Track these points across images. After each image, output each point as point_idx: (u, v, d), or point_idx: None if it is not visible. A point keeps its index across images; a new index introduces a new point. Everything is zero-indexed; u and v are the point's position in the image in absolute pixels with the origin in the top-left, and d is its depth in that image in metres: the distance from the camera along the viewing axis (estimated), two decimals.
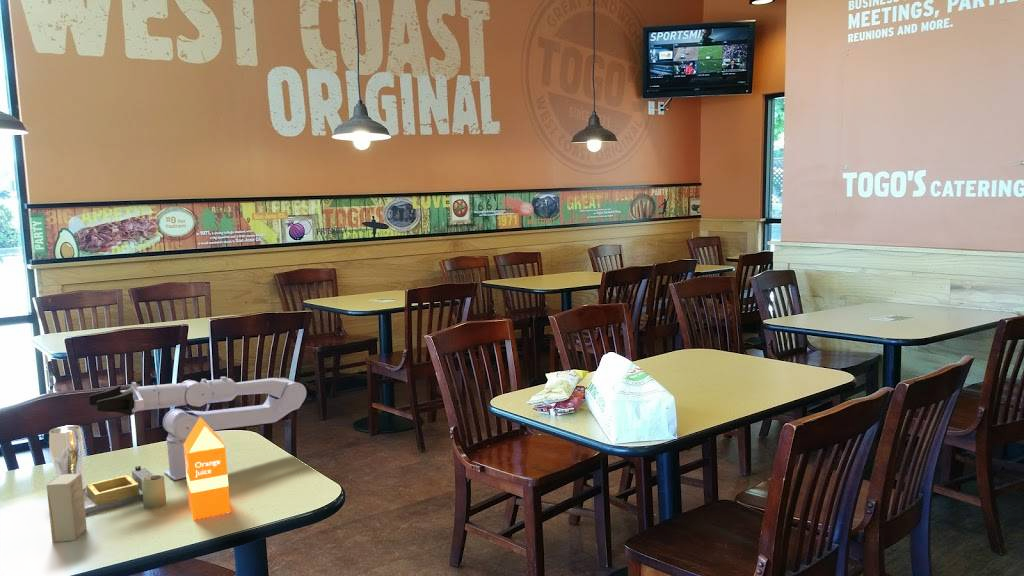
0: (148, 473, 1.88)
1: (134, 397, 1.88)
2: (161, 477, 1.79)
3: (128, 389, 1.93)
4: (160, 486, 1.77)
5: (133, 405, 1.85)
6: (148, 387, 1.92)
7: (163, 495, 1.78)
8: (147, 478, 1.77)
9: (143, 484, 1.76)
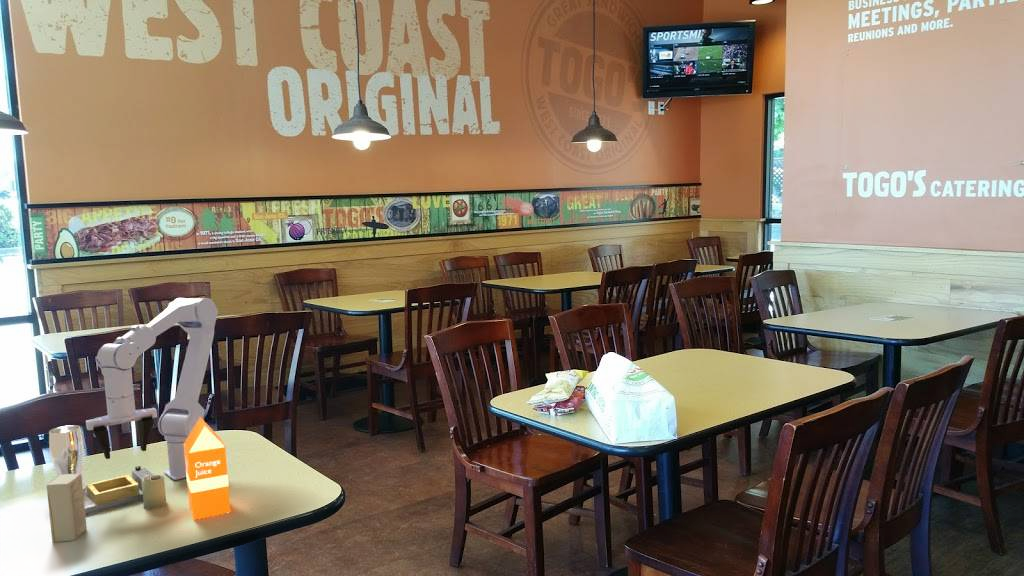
0: (148, 473, 1.88)
1: (137, 417, 1.83)
2: (161, 477, 1.79)
3: (109, 422, 1.78)
4: (160, 486, 1.77)
5: None
6: (128, 404, 1.80)
7: (163, 495, 1.78)
8: (147, 478, 1.77)
9: (143, 484, 1.76)
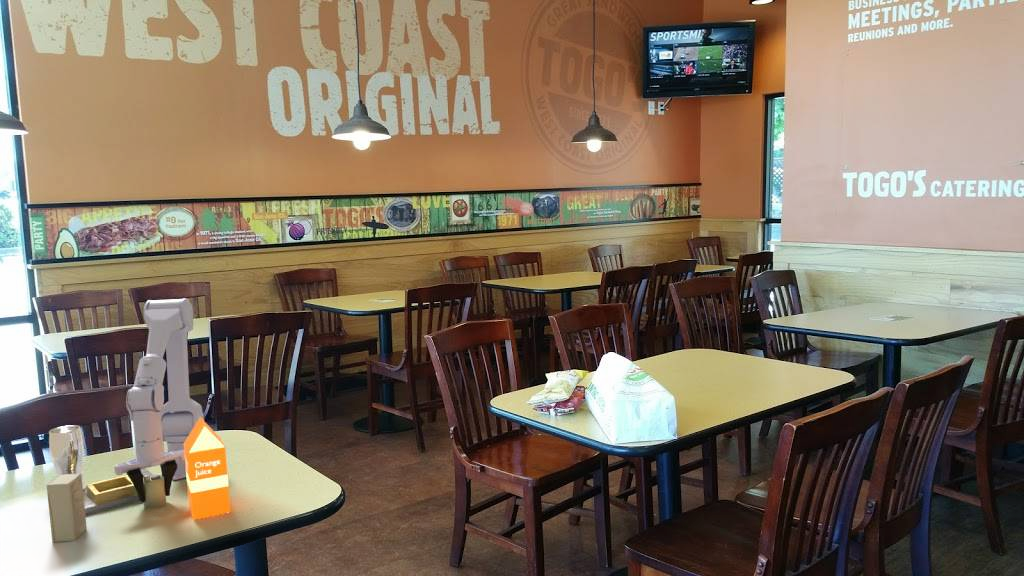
0: (148, 473, 1.88)
1: None
2: (161, 477, 1.79)
3: (138, 466, 1.74)
4: (160, 486, 1.77)
5: None
6: (157, 448, 1.76)
7: (163, 495, 1.78)
8: (147, 478, 1.77)
9: (143, 484, 1.76)
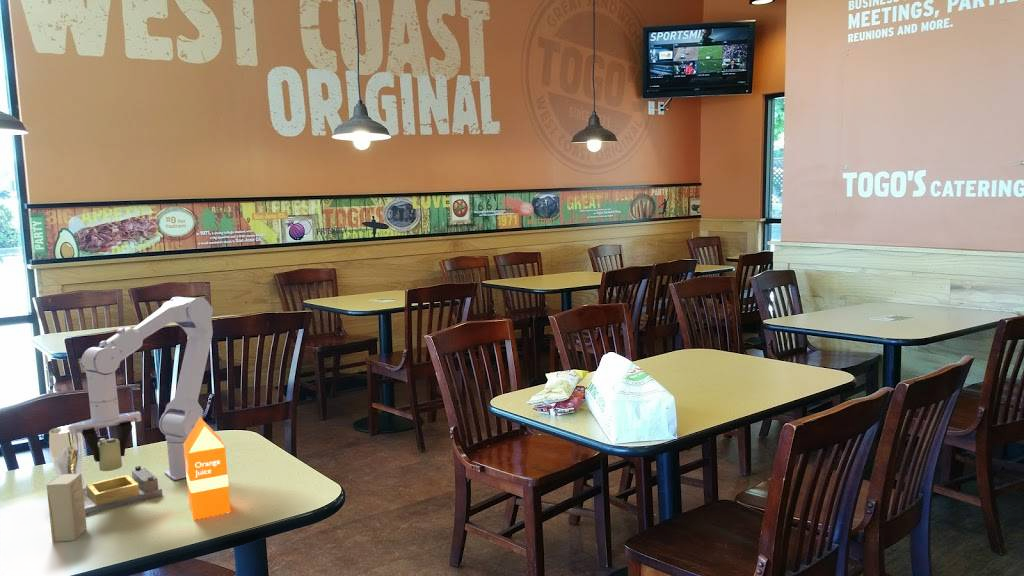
0: (148, 473, 1.88)
1: (121, 421, 1.83)
2: (116, 440, 1.83)
3: (92, 426, 1.78)
4: (116, 448, 1.81)
5: None
6: (111, 408, 1.80)
7: (119, 458, 1.82)
8: (103, 441, 1.80)
9: (99, 447, 1.80)
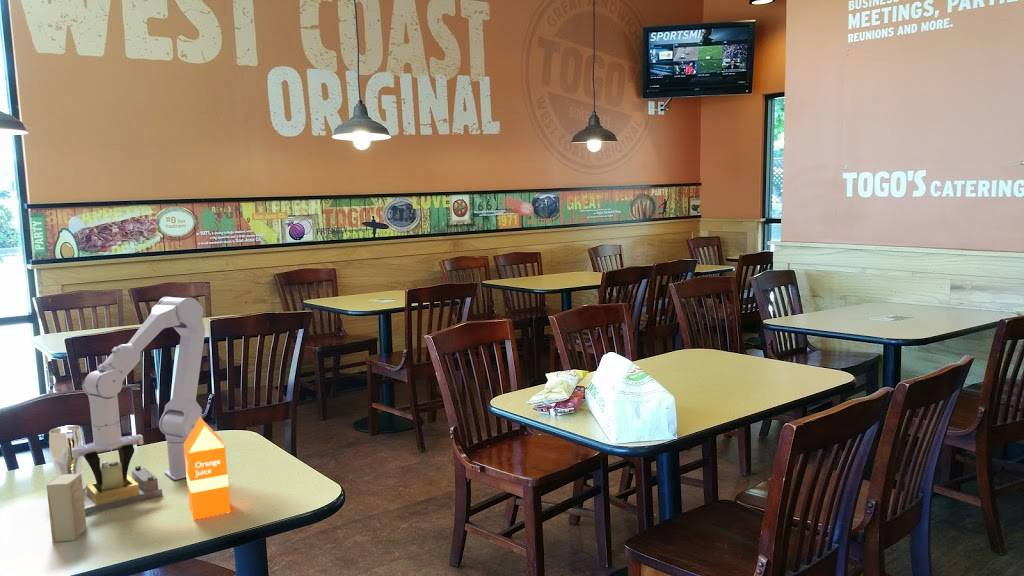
0: (148, 473, 1.88)
1: None
2: (119, 463, 1.83)
3: (95, 450, 1.79)
4: (118, 472, 1.81)
5: None
6: (114, 432, 1.80)
7: (121, 481, 1.82)
8: (105, 464, 1.81)
9: (101, 470, 1.80)
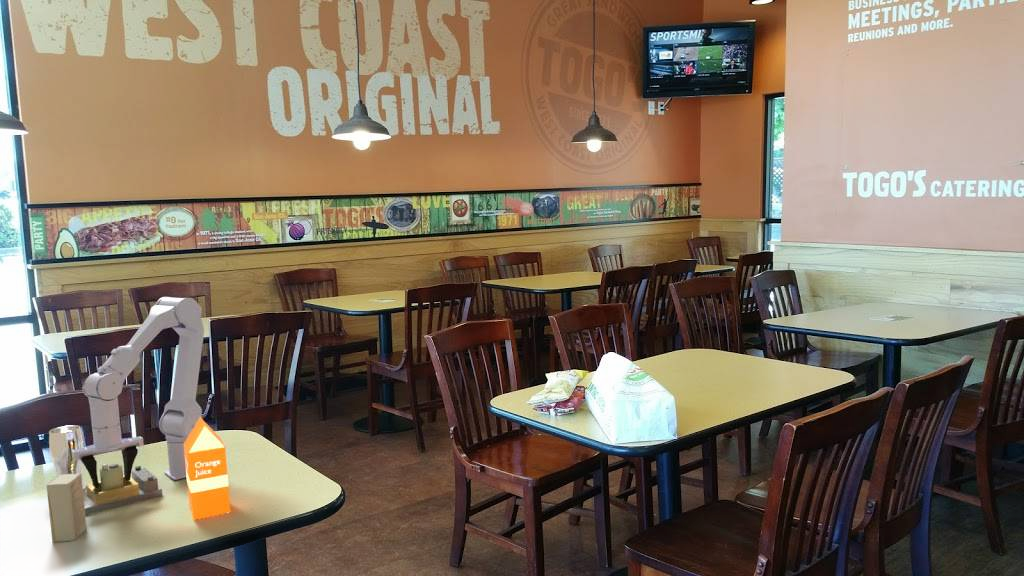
0: (148, 473, 1.88)
1: None
2: (119, 466, 1.83)
3: None
4: (118, 474, 1.82)
5: None
6: (114, 434, 1.80)
7: (121, 483, 1.82)
8: (105, 467, 1.81)
9: (101, 473, 1.80)
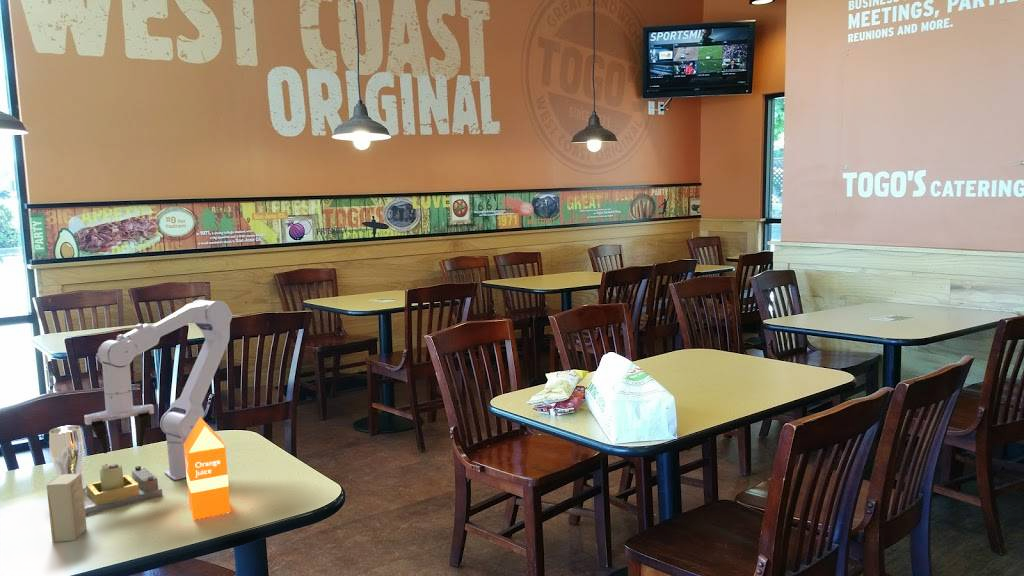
0: (148, 473, 1.88)
1: (134, 412, 1.87)
2: (119, 466, 1.83)
3: (107, 417, 1.83)
4: (118, 474, 1.82)
5: None
6: (126, 400, 1.84)
7: (121, 483, 1.82)
8: (105, 467, 1.81)
9: (101, 473, 1.80)
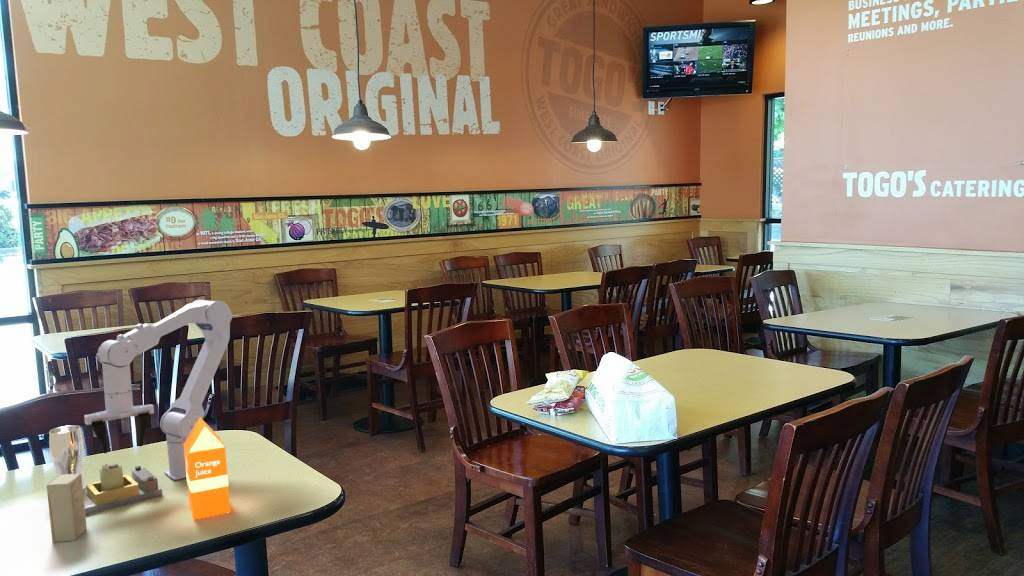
0: (148, 473, 1.88)
1: (134, 412, 1.87)
2: (119, 466, 1.83)
3: (107, 417, 1.83)
4: (118, 474, 1.82)
5: None
6: (126, 400, 1.84)
7: (121, 483, 1.83)
8: (105, 467, 1.81)
9: (101, 473, 1.80)
